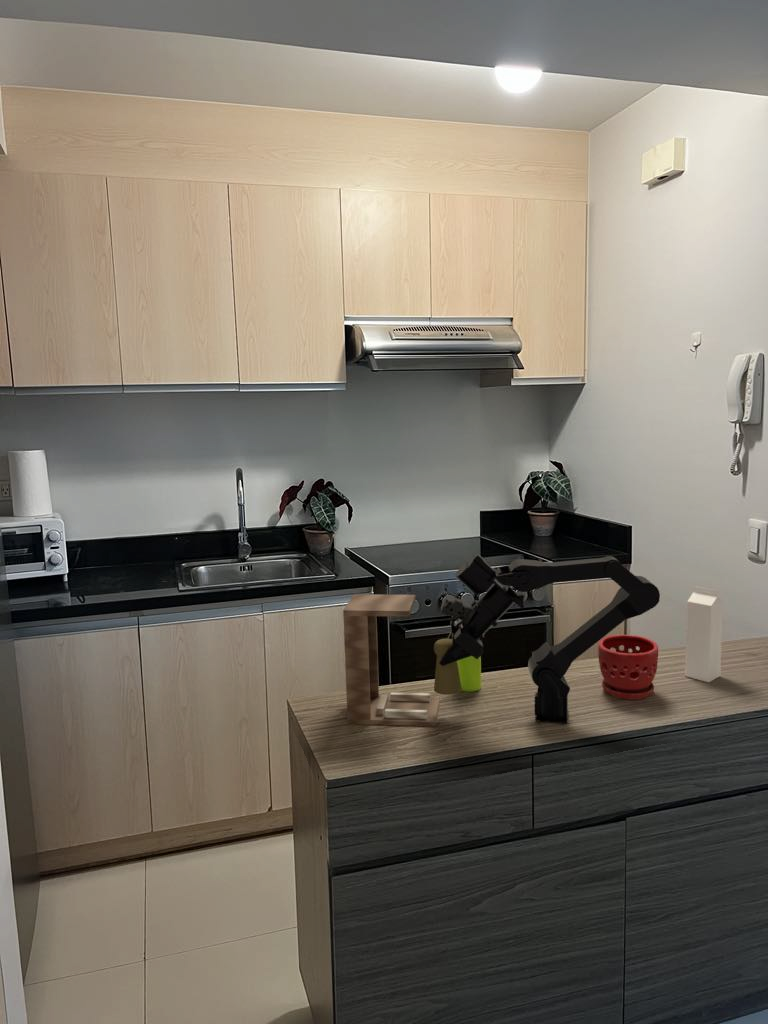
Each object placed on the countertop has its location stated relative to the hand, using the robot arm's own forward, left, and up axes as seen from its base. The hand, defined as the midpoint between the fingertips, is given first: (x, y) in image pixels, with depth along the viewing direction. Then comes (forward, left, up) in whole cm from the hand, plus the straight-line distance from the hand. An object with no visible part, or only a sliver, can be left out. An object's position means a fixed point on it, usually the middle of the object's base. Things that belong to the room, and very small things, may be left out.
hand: (440, 659), depth 163 cm
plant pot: (-39, -22, -13) cm, 47 cm away
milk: (-57, -36, -13) cm, 69 cm away
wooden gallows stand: (+11, -1, -13) cm, 17 cm away
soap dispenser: (-3, -18, -13) cm, 23 cm away
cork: (-1, 0, -7) cm, 7 cm away
